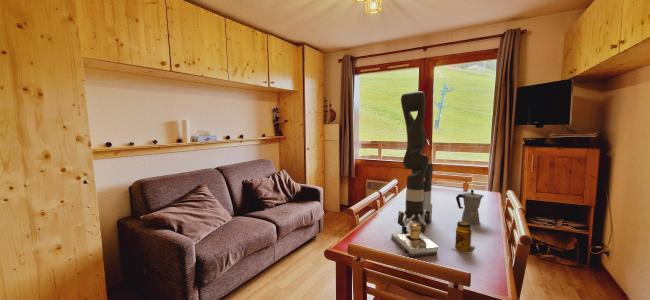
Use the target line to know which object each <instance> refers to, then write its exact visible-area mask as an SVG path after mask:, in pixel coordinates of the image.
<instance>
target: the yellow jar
mask: <svg viewBox="0 0 650 300" xmlns="http://www.w3.org/2000/svg"><path fill="white" fill-rule="evenodd" d="M456 225H457V226H456V228H455V244H454V246H453V247H452V250H454V251H457V252H459V253H464V254H469V255H471V254H472V253H473V251H474V249H475V246H473V245H472V229H471V225H472V224H470V223H468V222H464V221H462V220H461V221H457V223H456Z"/></svg>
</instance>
